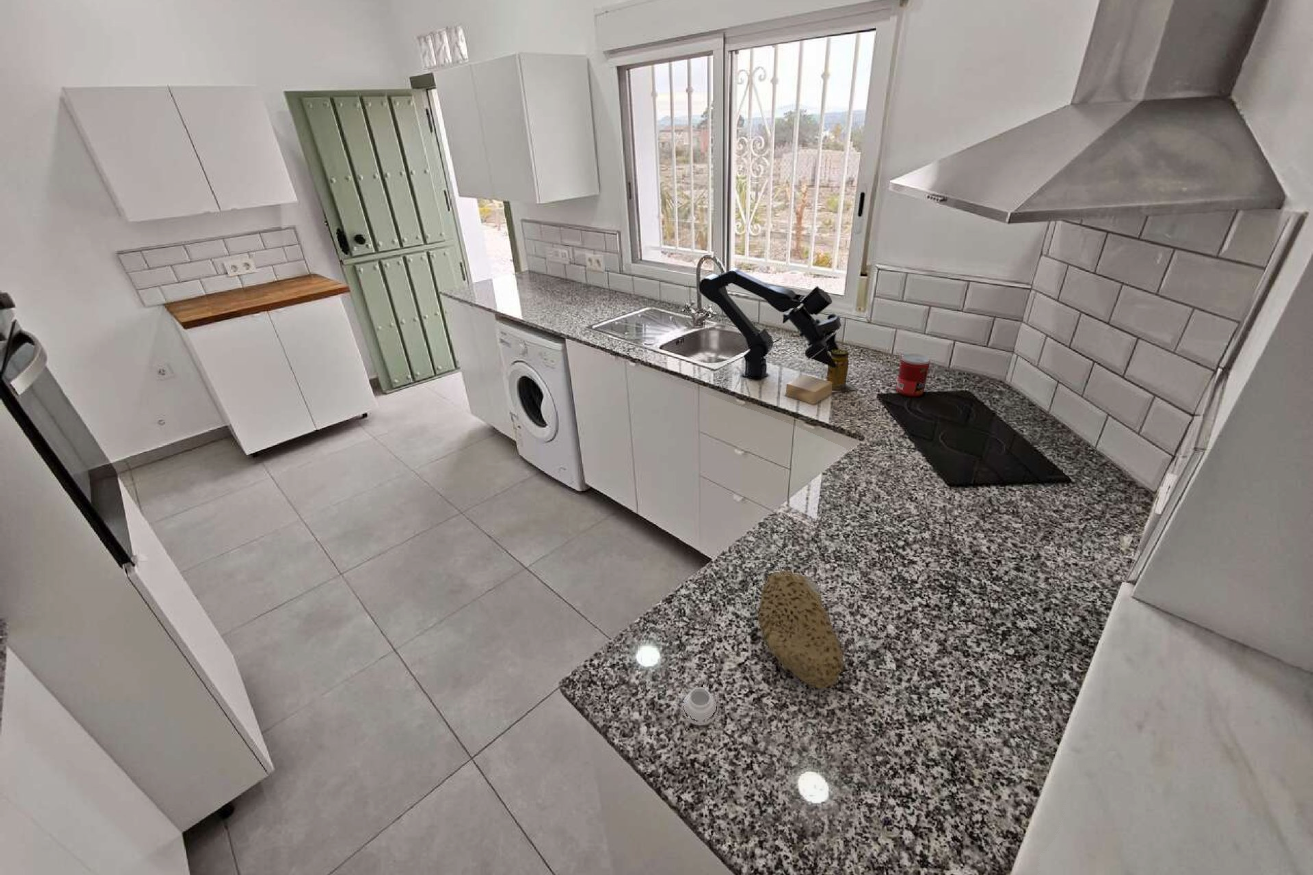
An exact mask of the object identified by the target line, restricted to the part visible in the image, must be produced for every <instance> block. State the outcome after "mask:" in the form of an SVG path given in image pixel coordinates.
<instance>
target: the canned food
mask: <svg viewBox="0 0 1313 875" xmlns="http://www.w3.org/2000/svg"><path fill="white" fill-rule="evenodd" d="M930 365H931V358H930V357H928V356H927V355H923V354H920V353H919V354H918V353H906V354H903V355H902V356H901V358H900V364H899V370H898V375H897V381H896V386H895V388H896V391H897V393H898V394H901V395H904V396H907V397H920V396H921V395H923V393H924V392H925V388H926V383H927V380H928V379H927V378H928V374H929V370H930Z"/></svg>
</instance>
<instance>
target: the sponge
mask: <svg viewBox="0 0 1313 875" xmlns="http://www.w3.org/2000/svg"><path fill="white" fill-rule="evenodd" d="M757 614H758V616H757V620H758V625H759V627H760V630H761V636H762V639H763V642H764V643H765V644H766V646H768V648H769V650H770V652H771V654H772V655H773V656H774V657H775V659H776V660H777V661H778V662H779V664H781V665H782V666H783V667H784V668H785V669H786V670H788V671H790V672H791V673H792V674H793V675H794V676H796V677H797V678H798V679H799V680H801V681H802V682H803V683H804V684H806V685H809V686H812V687H813V688H815V689H826V688H828V687H831V686H834V685H836V683H838V678H839V675H840V674H841V673H842V672H841V671H842V670H843V669H844V666H845V662H844V657H843V651H842V649H841V648H842V647H841V642H840V640H839V639H838V636H837V634H836V633H835V631H834V629H833V624H832V623H831V618H830V616H829V615H828V613H827V611H826V609H825V608H824V607H823V598H822V595H821V593H820V586H819V584H818V583H817V582H815V581H814V580H813V579H812V578H810V577H808V576H805V575H802V574H800V573H794V572H792V571H790V570H780V571H773V572H772V573H770V575H768V577H767V578H766V581H765V584H764V585H763V588H762V590H761V594H760V603H759V609H758V613H757Z"/></svg>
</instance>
